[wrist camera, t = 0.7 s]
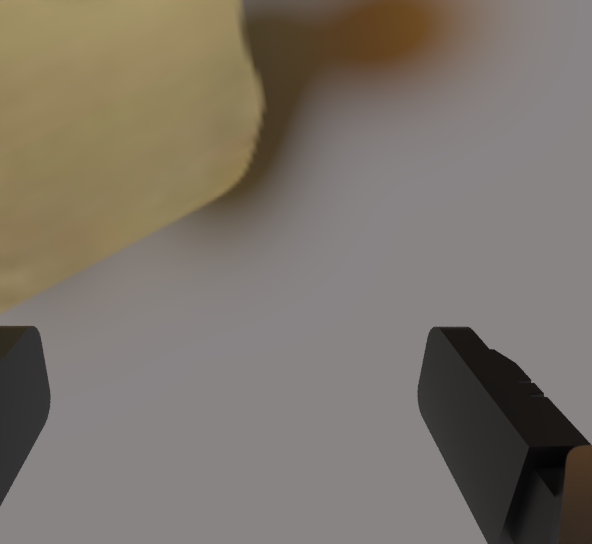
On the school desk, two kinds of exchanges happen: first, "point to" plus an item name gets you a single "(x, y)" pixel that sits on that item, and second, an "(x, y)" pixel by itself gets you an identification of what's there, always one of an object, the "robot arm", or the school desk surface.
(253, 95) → the school desk surface
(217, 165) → the school desk surface
